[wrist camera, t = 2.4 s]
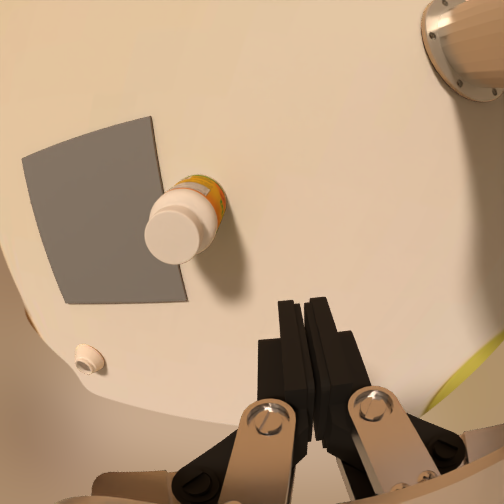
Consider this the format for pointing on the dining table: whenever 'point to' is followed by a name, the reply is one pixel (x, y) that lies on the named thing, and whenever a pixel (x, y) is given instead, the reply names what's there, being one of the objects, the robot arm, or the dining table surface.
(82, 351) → the lidless jar
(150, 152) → the felt mat
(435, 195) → the dining table surface
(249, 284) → the dining table surface
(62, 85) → the dining table surface
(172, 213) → the supplement bottle
